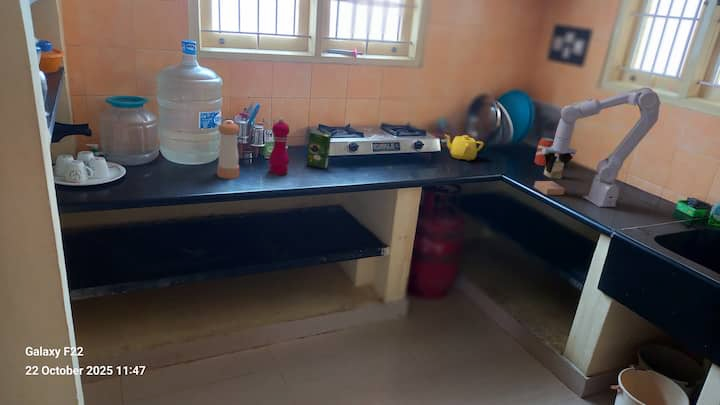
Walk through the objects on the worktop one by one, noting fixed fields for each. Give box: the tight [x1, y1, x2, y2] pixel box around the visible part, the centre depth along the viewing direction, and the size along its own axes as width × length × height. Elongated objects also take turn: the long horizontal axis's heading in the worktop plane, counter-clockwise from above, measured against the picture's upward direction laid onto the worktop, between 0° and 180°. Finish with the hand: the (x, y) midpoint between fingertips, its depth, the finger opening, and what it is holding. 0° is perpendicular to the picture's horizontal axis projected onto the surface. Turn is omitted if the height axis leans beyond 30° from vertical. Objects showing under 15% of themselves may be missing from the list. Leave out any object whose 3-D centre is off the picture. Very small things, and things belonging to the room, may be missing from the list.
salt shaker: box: [216, 120, 241, 180], centre depth 175 cm, size 7×7×19 cm
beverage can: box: [533, 137, 554, 167], centre depth 233 cm, size 6×6×12 cm
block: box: [543, 160, 565, 179], centre depth 199 cm, size 4×4×6 cm
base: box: [533, 180, 566, 196], centre depth 202 cm, size 8×8×2 cm
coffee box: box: [306, 130, 332, 170], centre depth 195 cm, size 8×3×13 cm, turn 70°
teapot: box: [444, 134, 485, 162], centre depth 229 cm, size 14×13×10 cm
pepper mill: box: [268, 117, 290, 176], centre depth 184 cm, size 7×7×20 cm
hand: (553, 171), depth 199 cm, fingers closed on block, 5 cm apart
